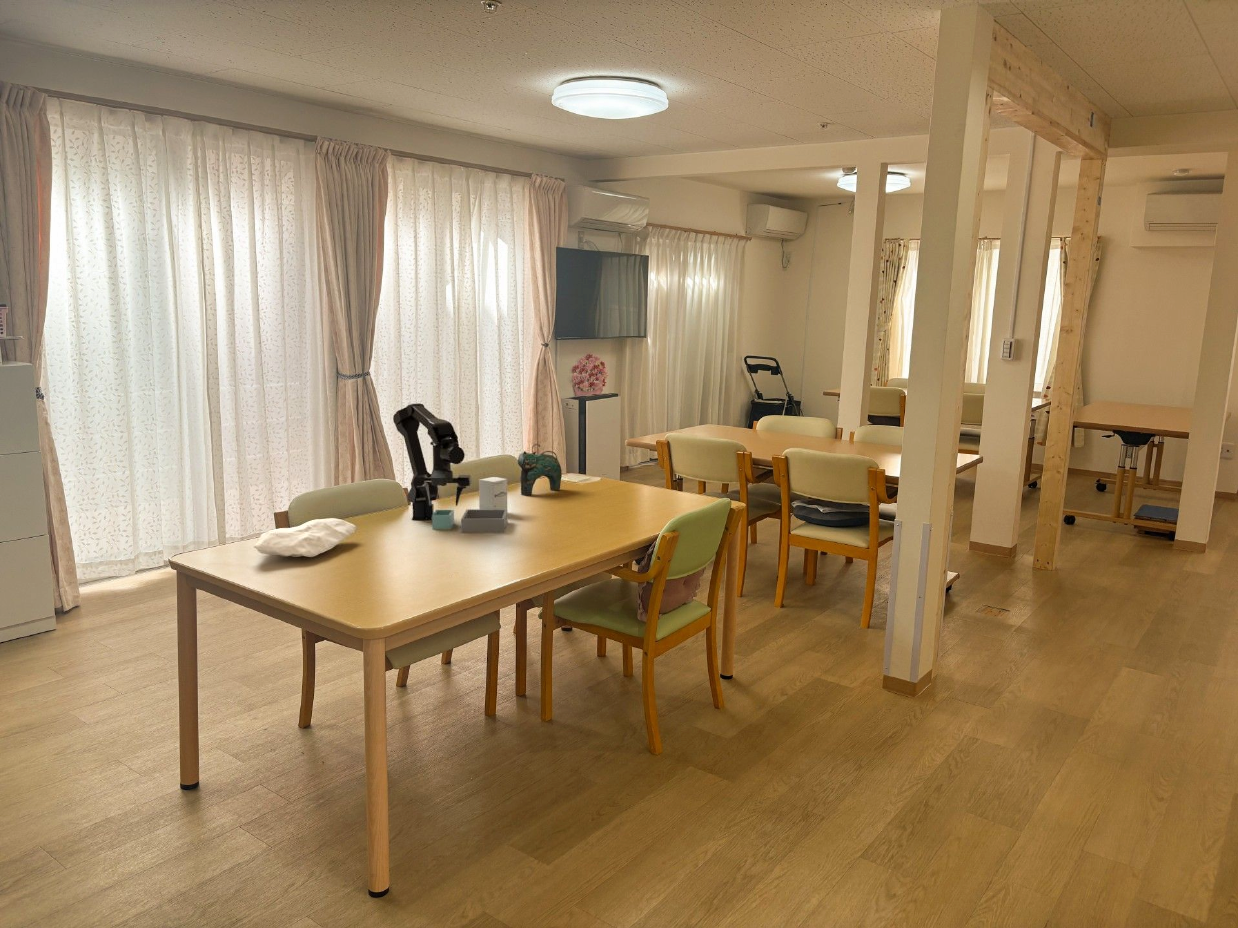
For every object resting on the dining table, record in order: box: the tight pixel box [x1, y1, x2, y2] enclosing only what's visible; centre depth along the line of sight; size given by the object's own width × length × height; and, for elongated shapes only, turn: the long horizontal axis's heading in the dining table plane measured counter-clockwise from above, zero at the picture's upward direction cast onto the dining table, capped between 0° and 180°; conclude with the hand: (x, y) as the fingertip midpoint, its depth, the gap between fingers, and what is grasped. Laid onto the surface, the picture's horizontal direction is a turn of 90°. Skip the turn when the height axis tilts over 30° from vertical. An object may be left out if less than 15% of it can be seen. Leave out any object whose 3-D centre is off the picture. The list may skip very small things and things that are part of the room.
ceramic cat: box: [517, 443, 563, 497], centre depth 350 cm, size 20×6×20 cm, turn 132°
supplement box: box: [478, 476, 508, 510], centre depth 315 cm, size 7×7×13 cm
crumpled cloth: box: [253, 517, 356, 558], centre depth 264 cm, size 24×35×9 cm
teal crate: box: [431, 509, 455, 530], centre depth 296 cm, size 6×8×5 cm
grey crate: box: [460, 508, 509, 533], centre depth 296 cm, size 14×14×4 cm
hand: (442, 505), depth 295 cm, fingers open, 9 cm apart
